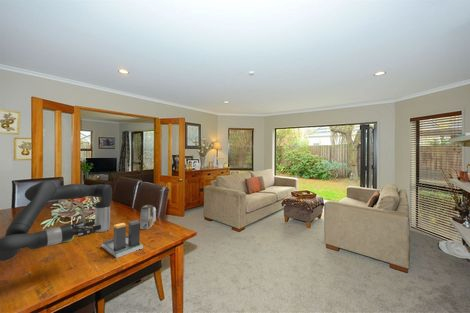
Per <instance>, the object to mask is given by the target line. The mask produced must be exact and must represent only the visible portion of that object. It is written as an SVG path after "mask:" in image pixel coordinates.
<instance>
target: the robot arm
mask: <svg viewBox="0 0 470 313" xmlns="http://www.w3.org/2000/svg"><path fill="white" fill-rule="evenodd" d="M112 195H113V188H112V185H110V184H100V183H99V184H91V185H88V184H83V183H70V184H64V185H60V186H57V185H56V183H54V182H52V181H51V180H43V181H40V182H38V183H36V184H34V185H32V186H30V187H28V188H27V189H26V190H25V192H24V198H25V199H26V200H28V201H30V202H29V203H28V204H27V205H26V206H24V207H23V209H21V210H20V212H19V213H17V215H16V216H15V217H13V220H12V221H11V222H10V224H9V226H8V227H7V229H6V231H5V235H4V237H1V238H0V262H5V261H9V260H11V259H13V258H14V257H15V256H16V255H17V254H18V253H19V252H20V249H25V248H27V249H29V250H30V251H31V250H37V249H41V248H44V247H47V246H53V245H56V244H57V245H58V244H60V243H63V242H64V241H68V240H71V239H72V238H73V236H74V237H75V236H77V238H80V237H84V236H89V235H93V233H94V232H96V233H103V232H104V233H105V232H107V230H108V231H109V230H111V203H112V197H113V196H112ZM85 197H95V198H100V200H99V201H97V202H96V203H95V205H94V208H95V209H94V210H95V212H94V220H91V221H87V222H86V221H80V222H76V223H72V224H71V223H68V224H64V225H59V226H55V227H51V228H48V229H45V230H41V231H37V232H32V233H31V232H30V229H31V228H32V227H33V225H34V222H35V221H36V219H37V218H38V217H39V214H41V212H42V211H43V209H44V208H45V206H46V205H47V204H48V203H49V201H55V200H56V201H57V200H60V201H61V200H78V199H85ZM29 232H30V233H29Z"/></svg>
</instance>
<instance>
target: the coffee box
mask: <svg viewBox="0 0 470 313" xmlns="http://www.w3.org/2000/svg"><path fill="white" fill-rule="evenodd" d="M153 207H154V204H145V205H143V206H142V207H140V218H139V219H140V220H139V221H140V230H150V228H151V227H152V225H153V226H154V222H153Z"/></svg>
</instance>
